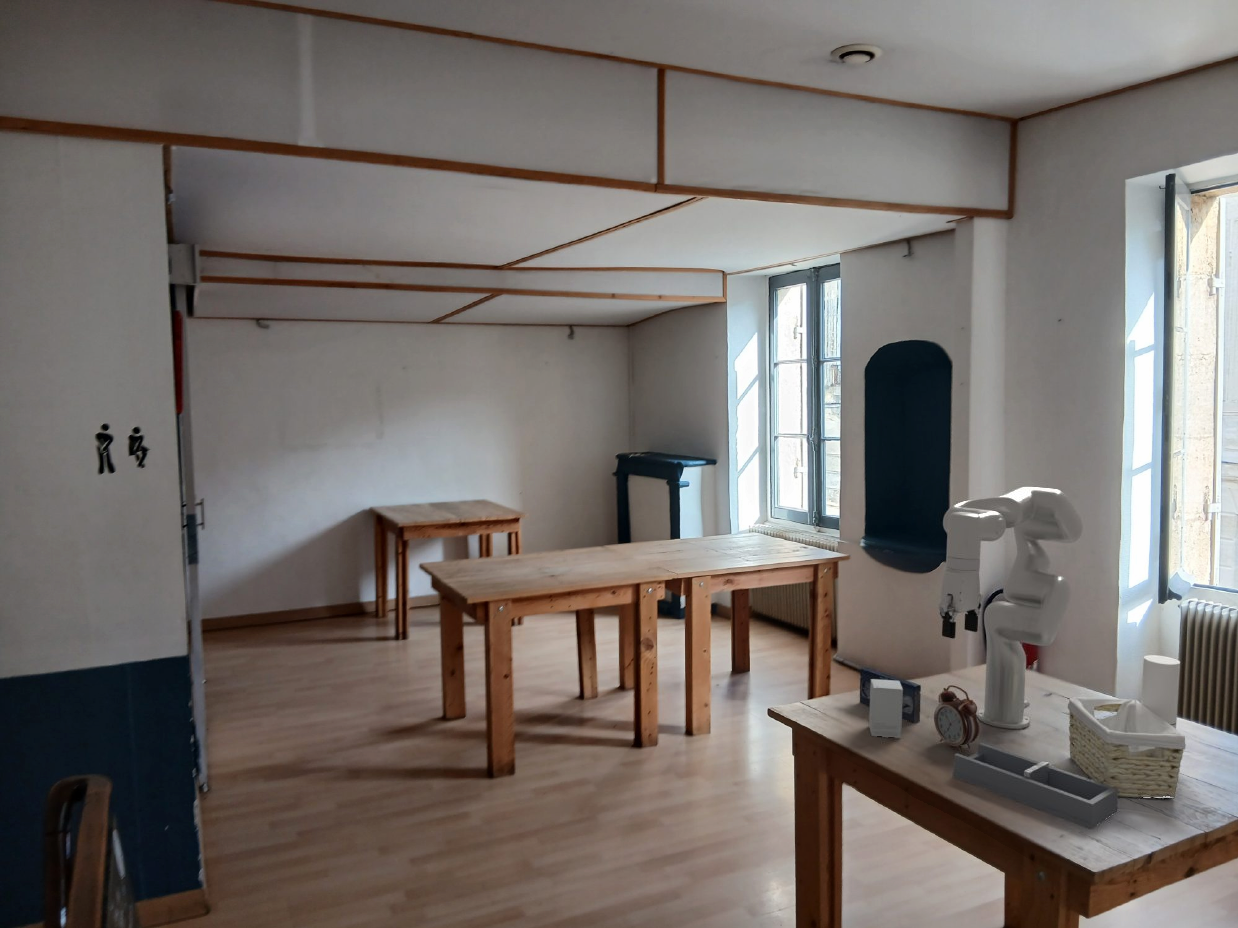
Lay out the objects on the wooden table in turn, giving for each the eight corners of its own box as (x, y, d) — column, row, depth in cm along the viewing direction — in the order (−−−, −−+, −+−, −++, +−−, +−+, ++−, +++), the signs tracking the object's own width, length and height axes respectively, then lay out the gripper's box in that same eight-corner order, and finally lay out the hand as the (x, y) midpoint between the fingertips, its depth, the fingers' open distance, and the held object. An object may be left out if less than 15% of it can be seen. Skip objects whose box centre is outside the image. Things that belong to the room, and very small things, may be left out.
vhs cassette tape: (858, 703, 246) (859, 668, 245) (866, 701, 247) (867, 666, 246) (913, 724, 230) (914, 686, 229) (920, 722, 232) (921, 685, 231)
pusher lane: (981, 763, 206) (982, 742, 206) (1117, 811, 182) (1118, 788, 182) (952, 776, 199) (953, 754, 198) (1090, 828, 175) (1092, 804, 175)
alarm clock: (931, 740, 219) (933, 681, 218) (946, 737, 221) (948, 678, 220) (965, 756, 210) (968, 695, 208) (980, 753, 212) (983, 692, 210)
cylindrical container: (1169, 760, 208) (1175, 656, 206) (1177, 772, 201) (1183, 665, 199) (1134, 756, 210) (1140, 653, 208) (1141, 768, 204) (1147, 662, 202)
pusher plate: (1042, 783, 193) (1043, 761, 192) (1047, 785, 192) (1048, 762, 191) (1023, 793, 188) (1024, 770, 187) (1028, 795, 187) (1029, 772, 186)
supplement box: (901, 739, 220) (903, 689, 219) (870, 736, 221) (872, 687, 220) (898, 728, 227) (900, 680, 226) (868, 725, 229) (870, 677, 228)
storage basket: (1062, 754, 212) (1065, 694, 211) (1134, 758, 210) (1138, 697, 208) (1103, 799, 188) (1107, 732, 187) (1185, 804, 186) (1189, 736, 185)
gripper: (968, 557, 220) (965, 625, 221) (928, 565, 209) (925, 636, 211) (996, 562, 214) (993, 631, 215) (957, 570, 204) (954, 643, 205)
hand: (959, 633), depth 213 cm, fingers open, 9 cm apart
